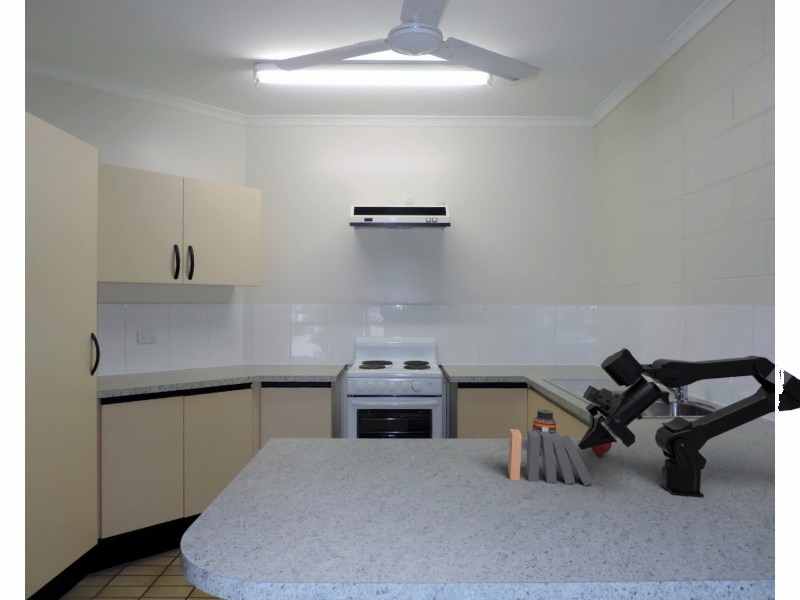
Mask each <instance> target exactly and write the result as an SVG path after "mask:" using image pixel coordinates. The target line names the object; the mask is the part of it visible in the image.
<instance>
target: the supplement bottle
mask: <svg viewBox="0 0 800 600" xmlns="http://www.w3.org/2000/svg"><path fill="white" fill-rule="evenodd" d="M536 412H537V414H536V415H537V416H536V417H534V418H533V421H532V423H533V424H532V431H537V432H538V434H539V435H540V432H544V431H549V433H550V434H552V433H556V432H557V421H556V420H555V419H554V412H553V411H552V410H548V409H538V410H537V411H536ZM539 456H542V454H541V443H540V452H539Z"/></svg>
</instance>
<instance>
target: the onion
mask: <svg viewBox="0 0 800 600" xmlns="http://www.w3.org/2000/svg"><path fill="white" fill-rule="evenodd" d="M612 444H613V442H612V443H607V444H603V445H599V446H595V447H591V448H590V449H591V451H592V452H593V453H594V454H595V455H596V456H598V455H602V456H603V455H605V454H606V453H608V452H609V451H610V450H611V448H612V446H613V445H612Z"/></svg>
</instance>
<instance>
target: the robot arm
mask: <svg viewBox="0 0 800 600" xmlns="http://www.w3.org/2000/svg"><path fill="white" fill-rule="evenodd" d="M775 365H776V363H774V362H773V361H771V360H770V359H769V358H767V357H764V356H757V355H749V356H745V357H742V356H741V357H732V358H723V359H722V358H721V359H710V360H699V361H697V360H696V361H691V360H690V361H689V360H679V359H669V358H668V359H667V358H659V359H656V360H654V361H653V362H652V363H648V364H643V363H642V364H641V363H640V362H639V361H638V360H637V359H636V358H635V357H634V356H633V354H632V352H631V351H630V350H629V349H628V348H624V347H623V348H621V350H619V351H617V352H614V353H613V354H612V355H609V356H607V357H606V358H605V359H604V360H603V361H602V363H600V368H601V369H602V370H603V371H604V372H605V373H606V374H607V375H608V376H609V377H610V379H612V380H613V382H614V383H615V384H616V385H617V386H618V387H625V388H626V389H625V390H624V391H623V392H622V393H620V394H619V393H617V392H616V393H614V394H612V393H613V392H612V391H611V390H610V389H609V390H608V388H607V389H606V388H604V387H602V388H601V389H598V388H596V387H595V386H592V385H590V384H589V385H588V387H587V388H586V390H585V392H584V394H583V396H582V397H583V399H585V400H586V401H588V402H590V403H589V404H588V405H586V407H585V410H586V411H587V412H588V413H589V419H590V420H589V422H590V425H589V427H588V429H587V430H586V431H585V433H584V435H583V437H582V438H581V440H580V441H579V443H578V444H577V447H578V448H579V449H580V450H582V451H583V450H586V449H591V447H595V446H599V445H603V444H607V443H612V444H613V443H618V440H617V439H616V438H619V440H620V441H621V443H622V444H623V445H624V446H625V447H626V448H629V447H631V446H633V444H634V443H636V435H635V434H634V432H632V431H631V429H630V428H629V427H628V426H629V425H630V424H631V423H633V422H634V421H635V420H636V419H637V420H639V421H640V420H641V419H643V418H644V417H643V415H642V414H643V413H645V412H646V411H647V410H649V408H650V407H652V406H653V405H654V404H655V403H656V402H657V401H659V402H660V403H662V404H663V405H667V406H669V405H670V395H671V394H670V392H669V391H667V390H662V389H661V388H660V387H659V385H661V386H664V387H667V388H669V389H677V388H681V387H686V386H689V385H692V384H694V383H696V382H699V381H704V380H714V379H726V378H738V377H750V376H751V377H753V379H754V380H755V381H756V382H757V383H758V384H759V385H761V386H759V388H758V389H757V390H756V391H755V392H754V393H753V394H752V395H750V396H748V397H745V398H742V399H740V400H738V401H736V402H733V403H732V404H731V403H730V404H728V405H726V406H724V407H722V408H720V409H718V410H715V411H713V412H711V413H709V414H706V415H704V416H702V417H699V418H697V419H695V420H692V421H691V420H690V421H689V420H688V419H685V418H683V417H681V416H676V417H675V418H673V419H672V420H670V421H668V422H662V423H661V424H662V426H661V427H659V428H658V429H656V433H655V435H654V440H655V444H656V446H658V448H660V450H662V454H663V456H664V457H666V458H665V459H664V465H663V466H662V467H661V470H662V471H661V481H660V485H661V486H662V487H663V488H664V489H665V490H666V491H668V492H669V493H670V494H672V495H678V496H689V497H698V498H699V497H700V498H703V497H705V493H703V492H702V491H701V481H702V470H703V469H705V466H706V464H707V462H708V461H707V459H706V457H704V456H703V454H701V452H700V451H701V450H702V448H703V447H704V446H705V444H707V442H708V441H709V440H711V439H713V438H715V437H718V436H720V435H723V434H725V433H727V432H729V431H731V430H734V429H736V428H738V427H741V426H743V425H746V424H747V423H750V422H752V421H754V420H757V419H760V418H762V417H764V416H766V415H768V414H771V413H776V412H775ZM783 370H784V372H783V373H784V384H783V385H782V386H783V389H784V390H783V392H782V394H779V401H780V403H779V406H778V409H779V412H788V411H794V410H798V409H800V378H798V377H796V376H795V375H793V373H792V374H791V373H790V372H789V371H787V370H785V369H783ZM779 373H780V377H781V370H780V372H779ZM644 376H645V377H648V378H651V381H648V380H647V379H646V378H645V377H644ZM780 379H781V378H780ZM657 384H659V385H657Z"/></svg>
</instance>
